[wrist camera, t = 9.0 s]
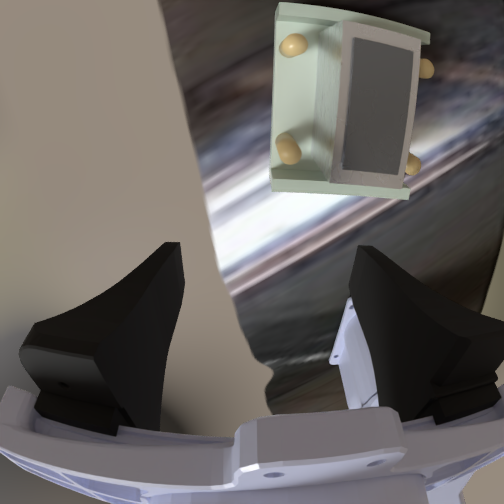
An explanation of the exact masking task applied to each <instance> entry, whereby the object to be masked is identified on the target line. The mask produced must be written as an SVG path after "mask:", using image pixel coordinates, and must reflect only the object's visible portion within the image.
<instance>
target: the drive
mask: <svg viewBox="0 0 504 504" xmlns="http://www.w3.org/2000/svg"><path fill="white" fill-rule="evenodd" d="M420 52H421V40H420V39H417V38H414V37H411V36H408V35H404V34H401V33H397V32H394V31H390V30H386V29H382V28H378V27H374V26H370V25H365V24H361V23H356V22H351V21H345V20H342V21H340V22H338V23H336V24H334V25H333V26H331V27H329V28H327V29H325V30H323V31H322V32H320V33H318V56H317V74H316V90H315V105H314V119H313V131H312V143H311V154H310V155H311V157H312V158H313V160H314V161H315V163H316V164H317V165H318V167H319V168H320V170H321V171H322V173H323V174H324V176H325V177H326V179H327V180H328V182H329V183H335V184H348V185H361V186H372V187H382V188H392V189H402V185H403V180H404V175H405V170H406V165H407V160H408V154H409V148H410V142H411V136H412V130H413V123H414V115H415V108H416V99H417V90H418V80H419V67H420Z"/></svg>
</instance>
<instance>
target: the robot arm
mask: <svg viewBox="0 0 504 504" xmlns="http://www.w3.org/2000/svg"><path fill="white" fill-rule="evenodd" d="M184 286H185V279H184V272H183V263H182V255H181V247H180V242H165V243H164V244H162V245H161V246H160V247H159V248H158V249H157V250H156V251H155V252H154V253H152V254H151V255H150V256H149V257H148V258H147V259H146V260H145V261H144V262H143V263H141V264H140V265H139V266H138V267H137V268H135V269H134V270H133V271H132V272H131V273H129V274H128V275H127V276H126V277H124V278H123V279H122V280H121V281H119V282H118V283H116V284H115V285H114V286H112V287H111V288H109V289H108V290H106V291H105V292H103V293H101V294H100V295H98V296H96V297H94V298H93V299H91V300H89V301H87V302H86V303H84V304H82V305H80V306H78V307H76V308H74V309H72V310H69V311H67V312H65V313H62V314H60V315H57V316H55V317H52V318H49V319H46V320H43V321H40V322H37V323H35V324H34V325H33V327H32V328H31V330H30V332H29V334H28V335H27V337H26V339H25V340H24V342H23V344H22V346H21V348H20V349H19V357H20V361H21V363H22V365H23V367H24V368H25V370H26V371H27V372H28V374H29V375H30V377H31V378H32V379H33V381H34V382H35V383H36V385H37V386H38V387H39V388H40V389H41V391H40V394H39V396H38V397H37V396H35V395H34V394H32V393H30V392H28V391H24V390H21V389H19V388H16V387H13V386H8V388H7V390H6V392H5V394H4V396H3V398H2V401H1V403H0V453H2V454H3V455H5V456H6V457H7V458H8V459H10V460H11V461H13V462H14V463H16V464H17V465H18V466H20V467H21V468H23V469H24V470H26V471H28V472H31V473H33V474H35V475H37V476H40V477H42V478H44V479H47V480H49V481H51V482H54V483H56V484H59V485H61V486H64V487H66V488H69V489H72V490H74V491H77V492H79V493H82V494H85V495H88V496H91V497H93V498H97V499H99V500H103V501H106V502H109V503H112V504H466V503H465V499H464V496H463V492H462V490H463V488H464V487H465V485H466V484H467V482H468V481H469V480H470V478H471V477H472V475H473V474H474V472H475V471H476V470H478V469H480V468H482V467H484V466H486V465H488V464H490V463H492V462H493V461H495V460H497V459H499V458H501V457H503V456H504V384H503V385H501V386H500V387H498V388H497V386H496V385H495V382H496V381H497V380H498V377H497V374H496V373H495V370H497V368H498V367H499V366H500V364H501V363H502V362H503V360H504V321H501V320H498V319H495V318H491V317H488V316H485V315H482V314H480V313H477V312H475V311H472V310H470V309H467V308H465V307H463V306H461V305H459V304H457V303H455V302H453V301H451V300H449V299H447V298H445V297H443V296H442V295H440V294H438V293H437V292H435V291H433V290H432V289H430V288H429V287H427V286H426V285H424V284H423V283H421V282H420V281H418V280H417V279H416V278H414V277H413V276H411V275H410V274H409V273H407V272H406V271H405V270H403V269H402V268H401V267H400V266H398V265H397V264H396V263H394V262H393V261H392V260H391V259H389V258H388V257H387V256H385V255H384V254H383V253H382V252H380V251H379V250H377V249H376V248H374V247H373V246H363V245H358V248H357V252H356V257H355V261H354V265H353V269H352V273H351V277H350V281H349V289H350V294H351V297H350V298H349V299H348V300H347V303H346V307H345V310H344V314H343V317H342V321H341V324H340V327H339V331H338V334H337V337H336V340H335V344H334V347H333V350H332V353H331V356H330V359H329V362H330V364H333V365H334V364H339V368H340V372H341V377H342V381H343V385H344V390H345V394H346V399H347V404H348V407H349V410H340V411H330V412H317V413H302V414H279V415H272V416H264V417H258V418H255V419H253V420H250V421H248V422H245V423H243V424H242V425H241V426H240V427H239V428H238V430H237V431H236V432H235V437H233V438H231V437H211V436H197V435H184V434H174V433H166V432H160V414H161V402H162V392H163V382H164V375H165V368H166V361H167V355H168V351H169V346H170V343H171V339H172V336H173V332H174V329H175V326H176V322H177V319H178V315H179V312H180V308H181V305H182V299H183V293H184ZM351 305H353V306H351ZM350 306H351V307H350Z"/></svg>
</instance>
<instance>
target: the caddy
mask: <svg viewBox="0 0 504 504" xmlns="http://www.w3.org/2000/svg"><path fill="white" fill-rule="evenodd" d="M342 20H345V21H351V22H356V23H361V24H365V25H370V26H374V27H378V28H382V29H386V30H390V31H394V32H397V33H401V34H404V35H408V36H411V37H414V38H417V39H420V40H421V45H428V44H430V33H429V32H426V31H423V30H420V29H417V28H414V27H411V26H408V25H404V24H401V23H398V22H394V21H390V20H387V19H383V18H379V17H375V16H370V15H366V14H361V13H357V12H352V11H347V10H341V9H335V8H329V7H322V6H315V5H307V4H297V3H286V2H279V4H278V7H277V9H276V11H275V33H274V65H273V93H272V119H271V143H270V166H269V178H270V184H271V189H272V192H297V193H319V194H337V195H353V196H367V197H380V198H392V199H403V200H408V198H409V194H410V190H411V189H410V188H409V187H408V186H407V185H406V184H405V183H404V182H403V185H402V189H392V188H382V187H372V186H361V185H348V184H335V183H329V182H328V180H327V179H326V177H325V176H324V174H323V173H322V171H321V170H320V168H319V167H318V165H317V164H316V163H315V161H314V160H313V158H312V157H311V155H310V154H311V143H312V131H313V119H314V105H315V90H316V74H317V56H318V33H320V32H322V31H323V30H325V29H327V28H329V27H331V26H333V25H334V24H336V23H338V22H340V21H342ZM433 74H434V67H433V64H432V63H431V62H430V61H429V60H428V59H420V67H419V78H426V79H428V78H431V77H432V76H433ZM420 168H421V162H420V160H419V158H417V157H416V156H414V155H413V154H411V153H409V154H408V160H407V165H406V170H405V172H406V173H407V174H408V175H415V174H417V173H418V172H419V171H420Z"/></svg>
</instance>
